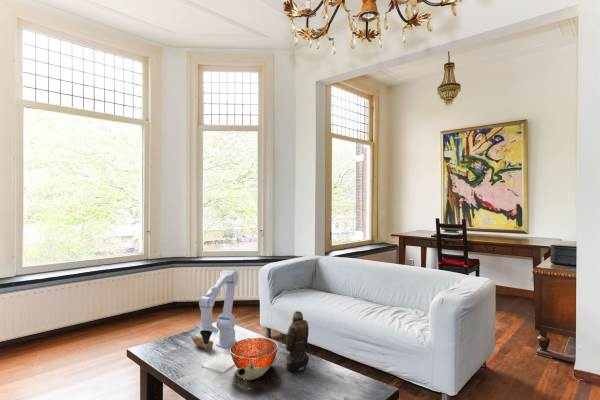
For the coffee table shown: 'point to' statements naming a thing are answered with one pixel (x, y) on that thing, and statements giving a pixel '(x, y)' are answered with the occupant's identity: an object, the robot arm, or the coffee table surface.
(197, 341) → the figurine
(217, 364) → the felt mat
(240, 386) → the coffee table surface
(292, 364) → the sculpture
